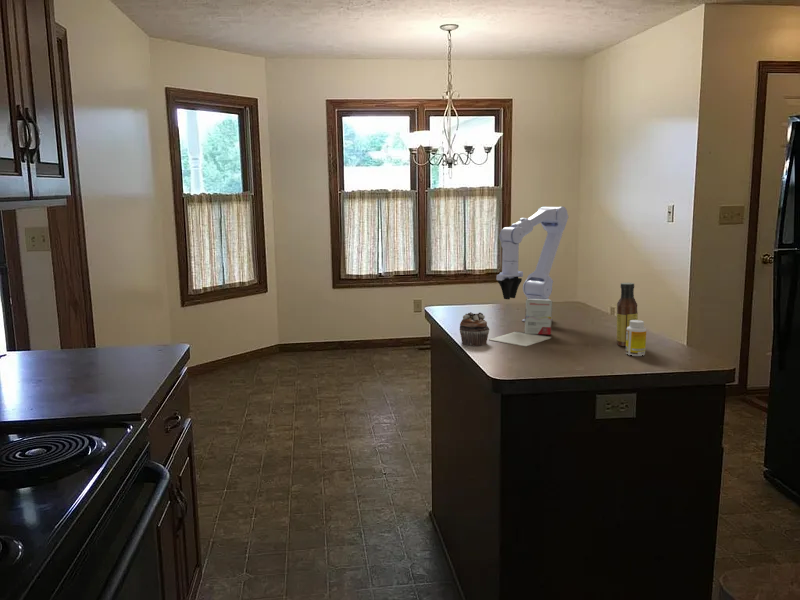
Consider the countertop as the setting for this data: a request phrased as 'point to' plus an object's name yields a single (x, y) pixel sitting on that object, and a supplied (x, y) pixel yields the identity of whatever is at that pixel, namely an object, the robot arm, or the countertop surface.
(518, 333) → the mat
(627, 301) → the sauce bottle
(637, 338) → the supplement bottle
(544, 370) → the countertop surface
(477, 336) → the cupcake
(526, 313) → the ink box
